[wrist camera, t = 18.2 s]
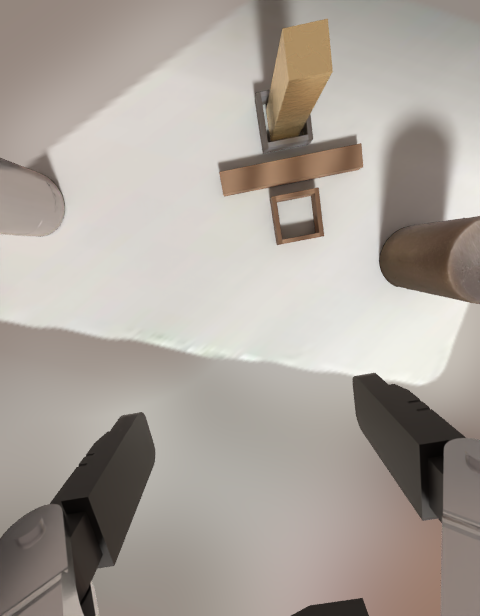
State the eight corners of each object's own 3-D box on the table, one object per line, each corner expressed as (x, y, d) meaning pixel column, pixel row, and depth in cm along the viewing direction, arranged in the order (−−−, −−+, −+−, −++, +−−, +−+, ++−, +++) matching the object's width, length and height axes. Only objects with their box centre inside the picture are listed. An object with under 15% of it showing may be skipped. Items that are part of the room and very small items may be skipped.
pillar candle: (387, 296, 43) (466, 321, 28) (372, 238, 41) (449, 232, 26) (446, 274, 42) (558, 288, 28) (433, 214, 40) (548, 195, 26)
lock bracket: (234, 252, 41) (234, 253, 39) (208, 110, 37) (206, 103, 35) (363, 228, 40) (369, 227, 38) (351, 81, 36) (357, 71, 34)
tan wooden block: (270, 141, 38) (288, 80, 24) (266, 110, 37) (282, 28, 23) (298, 136, 38) (332, 71, 24) (294, 104, 37) (327, 18, 23)
